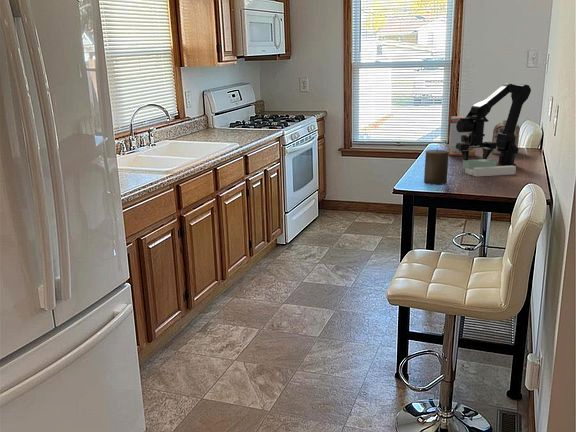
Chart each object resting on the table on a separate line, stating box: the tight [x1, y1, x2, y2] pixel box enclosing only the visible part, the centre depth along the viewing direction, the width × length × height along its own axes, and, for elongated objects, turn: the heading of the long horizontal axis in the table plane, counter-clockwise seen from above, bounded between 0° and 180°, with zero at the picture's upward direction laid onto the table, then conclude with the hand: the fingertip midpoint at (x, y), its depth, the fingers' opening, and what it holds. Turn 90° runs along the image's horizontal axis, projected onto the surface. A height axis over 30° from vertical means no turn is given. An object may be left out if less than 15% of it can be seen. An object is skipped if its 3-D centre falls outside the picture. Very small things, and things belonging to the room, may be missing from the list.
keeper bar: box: [462, 158, 497, 171], centre depth 273 cm, size 14×6×4 cm, turn 101°
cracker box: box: [448, 115, 477, 157], centre depth 307 cm, size 14×6×21 cm, turn 72°
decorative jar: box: [490, 119, 521, 155], centre depth 313 cm, size 12×12×18 cm
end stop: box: [464, 165, 517, 178], centre depth 264 cm, size 21×9×4 cm, turn 102°
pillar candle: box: [423, 147, 449, 186], centre depth 246 cm, size 10×10×15 cm
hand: (474, 163), depth 277 cm, fingers open, 9 cm apart
